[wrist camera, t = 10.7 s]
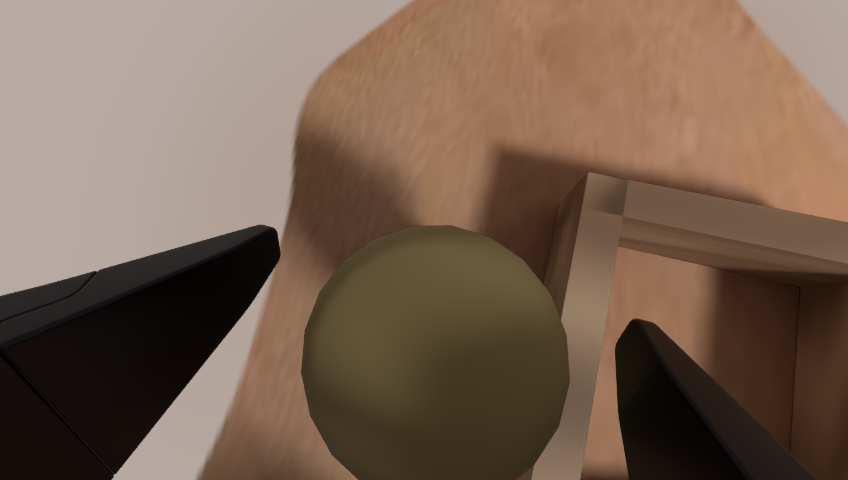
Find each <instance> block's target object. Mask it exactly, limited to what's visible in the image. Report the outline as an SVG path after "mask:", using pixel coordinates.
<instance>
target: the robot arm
mask: <svg viewBox="0 0 848 480" xmlns="http://www.w3.org/2000/svg"><path fill="white" fill-rule="evenodd" d="M279 259H280V247H279V240H278V234H277V231H276V229H274V228H273V227H269V226H265V225H257V226H253V227H249V228H246V229H243V230H239V231H235V232H232V233H228V234H225V235H221V236H218V237H214V238H210V239H207V240H203V241H200V242H196V243H193V244H189V245H186V246H182V247H179V248H175V249H171V250H168V251H165V252H161V253H157V254H154V255H150V256H147V257H144V258H140V259H136V260H133V261H129V262H126V263H122V264H118V265H115V266H111V267H108V268H104V269H101V270H99V271H98V272H97V271H93V272H90V273H86V274H83V275H79V276H76V277H72V278H68V279H65V280H61V281H57V282H54V283H50V284H46V285H43V286H39V287H35V288H31V289H27V290H23V291H18V292H14V293H10V294H6V295H3V296H0V480H111V479H112V478H113V477H114V474H116V473H117V472H118V471H119V469H120V468H121V467H122V465H123V464H124V463H125V462H126V460H127V459H128V458H129V457H130V455H131V454H132V453H133V452H134V451H135V449H136V448H137V447H138V445H139V444H140V443H141V442H142V440H143V439H144V438H145V437H146V435H147V434H148V433H149V432H150V430H151V429H152V428H153V427H154V425H155V424H156V423H157V422H158V420H159V419H160V418H161V417H162V415H163V414H164V413H165V411H166V410H167V409H168V408H169V407H170V405H171V404H172V403H173V401H174V400H175V399H176V398H177V397H178V395H179V394H180V393H181V392H182V390H183V389H184V388H185V387H186V385H187V384H188V383H189V382H190V380H191V379H192V378H193V377H194V375H195V374H196V373H197V372H198V370H199V369H200V368H201V366H202V365H203V364H204V363H205V362H206V360H207V359H208V358H209V357H210V355H211V354H212V353H213V352H214V350H215V349H216V348H217V347H218V345H219V344H220V343H221V342H222V340H223V339H224V338H225V337H226V335H227V334H228V333H229V332H230V330H231V329H232V328H233V327H234V325H235V324H236V323H237V322H238V320H239V319H240V318H241V316H242V315H243V314H244V313H245V311H246V310H247V309H248V307H249V306H250V305H251V303H252V302H253V300H254V299H255V297H256V296H257V294H258V293H259V291H260V289H261V288H262V286H263V285H264V283H265V282H266V280H267V279H268V277H269V275H270V274H271V272H272V271H273V269H274V268H275V266H276V264H277V263H278V261H279ZM615 361H616V381H617V402H618V414H619V421H620V428H621V434H622V440H623V446H624V451H625V457H626V463H627V469H628V475H629V480H817V479H816V478H815V477H814V476H813V475H812V474H811V473H810V472H809V471H808V470H807V469H806V468H805V467H804V466H803V465H802V464H801V463H800V462H799V461H798V460H797V459H796V458H795V457H793V456H792V455H791V454H790V453H789V452H788V451H787V450H786V449H785V448H784V447H783V446H782V445H781V444H780V443H779V442H778V441H777V440H776V439H775V438H774V437H773V436H772V435H771V434H770V433H768V432H767V431H766V430H765V429H764V428H763V427H762V426H761V425H760V424H759V423H758V422H757V421H756V420H755V419H754V418H753V417H752V416H751V415H750V414H749V413H748V412H747V411H746V410H744V409H743V408H742V407H741V406H740V405H739V404H738V403H737V402H736V401H735V400H734V399H733V398H732V397H731V396H730V395H729V394H728V393H727V392H726V391H725V390H724V389H723V388H722V387H721V386H719V385H718V384H717V383H716V382H715V381H714V380H713V379H712V378H711V377H710V376H709V375H708V374H707V373H706V372H705V371H704V370H703V369H702V368H701V367H700V366H699V365H698V364H697V363H695V362H694V361H693V360H692V359H691V358H690V357H689V356H688V355H687V354H686V353H685V352H684V351H683V350H682V349H681V348H680V347H679V346H678V345H677V344H676V343H675V342H674V341H673V340H672V339H670V338H669V337H668V336H667V335H666V334H665V333H664V332H663V331H662V330H661V329H660V328H659V327H658V326H657V325H656V324H654V323H652V322H649V321H645V320H641V319H633V320H631V321H630V322H629V324H628V325H627V327H626V329H625V330H624V332H623V333H622V335H621V336H620V338H619V339H618V341H617V343H616V347H615Z"/></svg>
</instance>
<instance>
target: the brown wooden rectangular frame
mask: <svg viewBox="0 0 848 480" xmlns="http://www.w3.org/2000/svg"><path fill="white" fill-rule="evenodd" d="M618 246H620V247H624V248H629V249H633V250H637V251H642V252H646V253H651V254H655V255H660V256H664V257H669V258H673V259H678V260H682V261H687V262H691V263H696V264H700V265H705V266H709V267H714V268H718V269H723V270H727V271H732V272H736V273H741V274H745V275H750V276H754V277H759V278H763V279H768V280H772V281H777V282H781V283H786V284H790V285H795V286H799V287H800V303H799V319H798V335H797V351H796V367H795V383H794V400H793V416H792V432H791V448H790V454H791V455H792V456H793V457H795V458H796V459H797V460H798V461H799V462H800V463H801V464H802V465H803V466H804V467H805V468H806V469H807V470H808V471H809V472H810V473H811V474H812V475H813V476H814V477H815V478H816V479H817V480H848V222H843V221H838V220H833V219H828V218H823V217H817V216H812V215H807V214H802V213H797V212H792V211H787V210H781V209H776V208H771V207H766V206H761V205H756V204H751V203H745V202H740V201H735V200H730V199H725V198H720V197H715V196H709V195H704V194H699V193H694V192H689V191H684V190H679V189H673V188H668V187H663V186H658V185H653V184H648V183H643V182H637V181H632V180H627V179H622V178H617V177H612V176H607V175H602V174H596V173H591V172H588V173H587V174H586V175H585V176H584V178H583V179H582V180H581V181H580V182H579V183H578V184H577V185H576V186H575V187H574V188H573V190H572V191H571V192H570V193H569V194H568V195H567V196H566V197H565V198H564V199H563V200H562V202H561V203H560V204H559V209H558V214H557V219H556V224H555V229H554V234H553V239H552V244H551V249H550V254H549V259H548V264H547V269H546V274H545V279H544V284H543V285H544V286H545V288H546V289H547V290H548V291H549V293H550V294H551V297H552V299H553V302H554V304H555V307H556V309H557V312H558V314H559V317H560V319H561V322H562V324H563V327H564V329H565V332H566V334H567V345H568V359H569V372H570V384H569V388H568V392H567V396H566V400H565V404H564V408H563V412H562V416H561V420H560V424H559V427H558V429H557V430H556V432H555V434H554V435H553V437H552V438H551V440H550V441H549V443H548V444H547V446H546V448H545V449H544V451H543V452H542V454H541V455H540V457H539V458H538V460H537V462H536V463H535V465H534V466H533V467H532V468H531V469H529V470H528V471H527V472H525V473H524V474H523V475H521V476H520V477H519V478H517V479H516V480H580V477H581V471H582V465H583V459H584V453H585V447H586V440H587V434H588V428H589V422H590V416H591V410H592V403H593V397H594V391H595V385H596V379H597V373H598V367H599V360H600V354H601V348H602V342H603V336H604V330H605V323H606V317H607V311H608V305H609V299H610V293H611V286H612V280H613V274H614V268H615V262H616V256H617V249H618Z"/></svg>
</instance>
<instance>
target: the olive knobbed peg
mask: <svg viewBox="0 0 848 480" xmlns="http://www.w3.org/2000/svg"><path fill="white" fill-rule="evenodd" d="M301 374H302V378H303V383H304V388H305V393H306V398H307V402H308V407H309V412H310V416H311V418H312V420H313V421H314V423H315V425H316V427H317V429H318V431H319V432H320V434H321V436H322V438H323V440H324V441H325V443H326V445H327V447H328V449H329V451H330V452H331V454H332V455H333V456H334V457H335V458H336V459H337V460H338V461H339V462H340V463H341V464H342V465H343V466H344V467H345V468H346V469H348V470H349V471H350V472H351V473H352V474H353V475H354V476H355V477H356V478H357V479H358V480H516V479H517V478H519V477H520V476H521V475H523V474H524V473H525V472H527V471H528V470H529V469H531V468H532V467H533V466H534V465H535V463H536V462H537V460H538V458H539V457H540V455H541V454H542V452H543V451H544V449H545V448H546V446H547V444H548V443H549V441H550V440H551V438H552V437H553V435H554V434H555V432H556V430H557V429H558V427H559V424H560V420H561V416H562V412H563V408H564V404H565V400H566V396H567V392H568V388H569V384H570V372H569V359H568V345H567V334H566V332H565V329H564V327H563V324H562V322H561V319H560V317H559V314H558V312H557V309H556V307H555V304H554V302H553V299H552V297H551V294H550V293H549V291H548V290H547V289H546V288H545V286H544V285H543V284H542V283H541V281H540V280H539V279H538V278H537V276H536V275H535V274H534V273H533V271H532V270H531V269H530V268H529V266H528V265H527V264H526V263H525V261H524V260H523V259H521V258H520V257H518V256H517V255H515V254H514V253H513V252H511V251H510V250H508V249H507V248H505V247H504V246H502V245H501V244H499V243H498V242H496V241H495V240H493V239H492V238H490V237H488V236H485V235H481V234H478V233H475V232H471V231H468V230H465V229H461V228H458V227H455V226H451V225H446V226H411V227H408V228H405V229H402V230H398V231H395V232H392V233H389V234H386V235H383V236H380V237H377V238H375V239H374V240H372V241H371V242H369V243H368V244H367V245H365V246H364V247H362V248H361V249H360V250H358V251H357V252H355V253H354V254H352V255H351V256H350V257H348V258H347V259H345V260H344V261H343V262H342V264H341V265H340V266H339V268H338V269H337V270H336V272H335V273H334V274H333V275H332V277H331V278H330V279H329V281H328V282H327V283H326V284H325V286H324V287H323V288H322V290H321V291H320V292H319V295H318V298H317V300H316V303H315V305H314V308H313V311H312V313H311V316H310V318H309V321H308V323H307V326H306V329H305V334H304V346H303V358H302V370H301Z"/></svg>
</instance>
